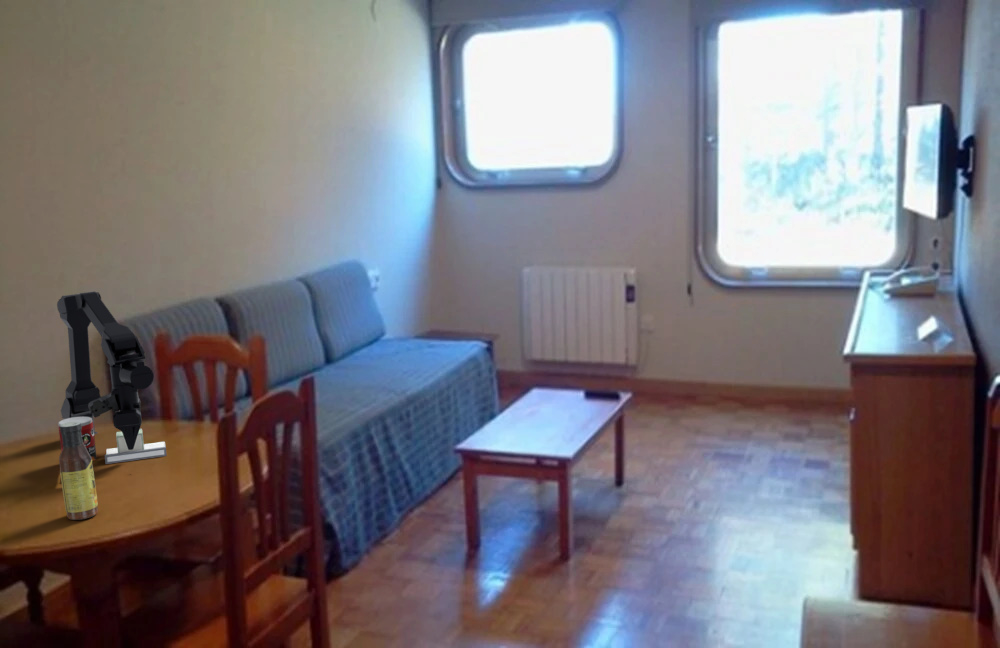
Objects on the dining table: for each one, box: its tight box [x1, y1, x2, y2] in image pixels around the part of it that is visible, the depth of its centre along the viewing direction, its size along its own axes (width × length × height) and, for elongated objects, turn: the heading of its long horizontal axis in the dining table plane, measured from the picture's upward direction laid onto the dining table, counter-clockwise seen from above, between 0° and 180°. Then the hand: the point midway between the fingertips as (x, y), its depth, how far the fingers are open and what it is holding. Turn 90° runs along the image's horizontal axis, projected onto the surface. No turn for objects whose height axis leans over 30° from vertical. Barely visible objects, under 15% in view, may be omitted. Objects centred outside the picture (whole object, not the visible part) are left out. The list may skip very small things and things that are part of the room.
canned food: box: [57, 417, 97, 462], centre depth 229 cm, size 8×8×11 cm
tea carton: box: [115, 428, 145, 453], centre depth 231 cm, size 4×6×6 cm
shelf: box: [104, 441, 168, 465], centre depth 234 cm, size 13×14×3 cm
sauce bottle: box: [58, 422, 99, 521], centre depth 193 cm, size 7×6×20 cm
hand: (130, 444), depth 231 cm, fingers open, 9 cm apart
